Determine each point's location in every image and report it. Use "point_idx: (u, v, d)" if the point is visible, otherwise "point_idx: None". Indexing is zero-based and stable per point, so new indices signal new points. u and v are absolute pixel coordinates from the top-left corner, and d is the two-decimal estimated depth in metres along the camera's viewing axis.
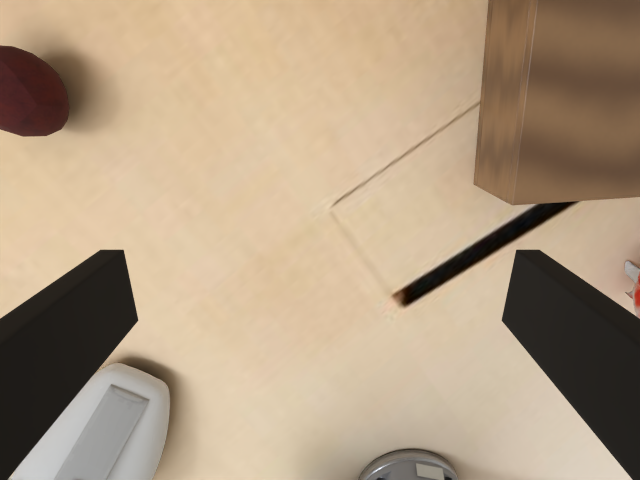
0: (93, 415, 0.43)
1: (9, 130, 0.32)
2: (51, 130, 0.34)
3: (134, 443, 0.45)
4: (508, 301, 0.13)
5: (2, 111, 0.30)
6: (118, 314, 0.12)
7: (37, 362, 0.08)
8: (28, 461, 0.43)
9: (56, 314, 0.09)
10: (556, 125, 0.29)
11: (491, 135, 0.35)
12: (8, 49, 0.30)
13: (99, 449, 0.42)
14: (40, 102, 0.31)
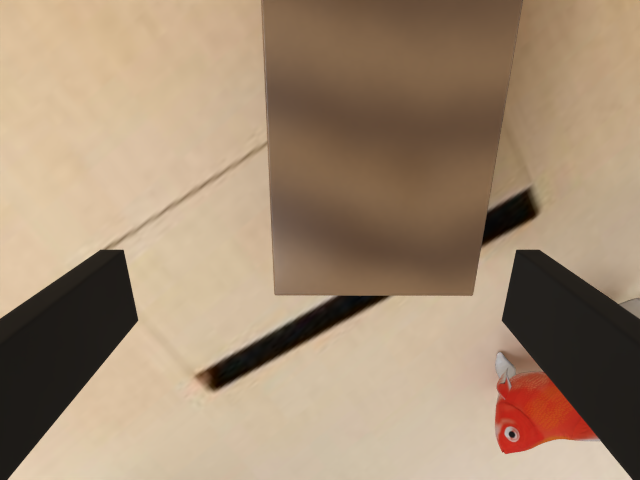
0: None
1: None
2: None
3: None
4: (508, 301, 0.13)
5: None
6: (118, 314, 0.12)
7: (37, 362, 0.08)
8: None
9: (56, 314, 0.09)
10: (323, 183, 0.19)
11: None
12: None
13: None
14: None
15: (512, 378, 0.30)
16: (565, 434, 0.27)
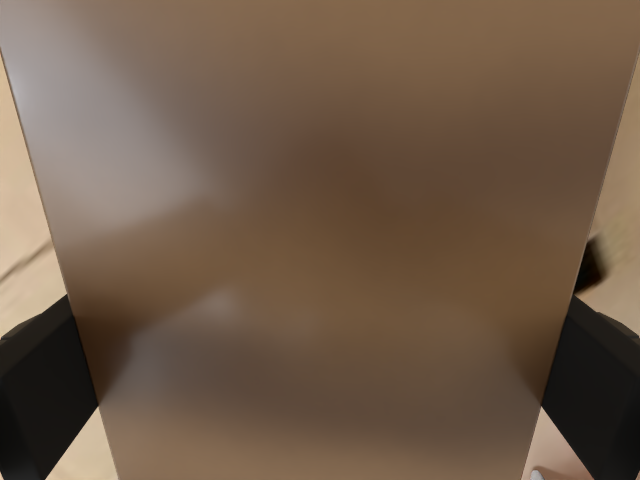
0: None
1: None
2: None
3: None
4: None
5: None
6: None
7: None
8: None
9: None
10: (188, 287, 0.08)
11: None
12: None
13: None
14: None
15: None
16: None
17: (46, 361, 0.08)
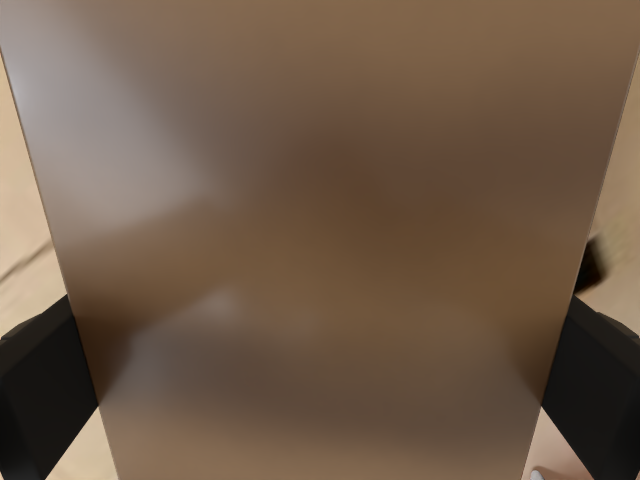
0: None
1: None
2: None
3: None
4: None
5: None
6: None
7: None
8: None
9: None
10: (188, 286, 0.08)
11: None
12: None
13: None
14: None
15: None
16: None
17: (46, 361, 0.08)
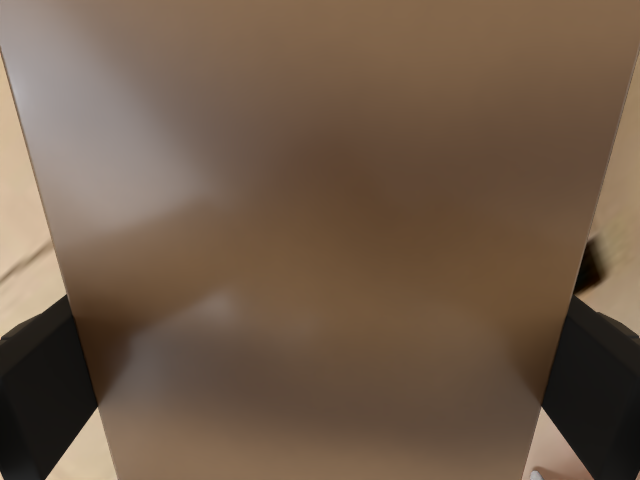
0: None
1: None
2: None
3: None
4: None
5: None
6: None
7: None
8: None
9: None
10: (188, 286, 0.08)
11: None
12: None
13: None
14: None
15: None
16: None
17: (46, 361, 0.08)
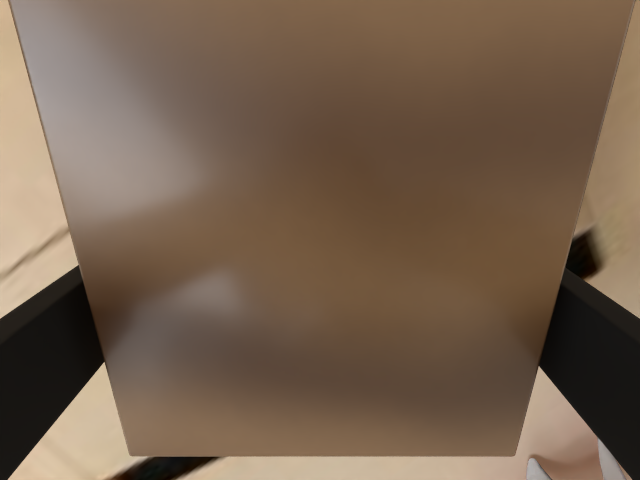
0: None
1: None
2: None
3: None
4: None
5: None
6: None
7: (37, 362, 0.08)
8: None
9: (56, 314, 0.09)
10: (195, 256, 0.08)
11: None
12: None
13: None
14: None
15: None
16: None
17: None
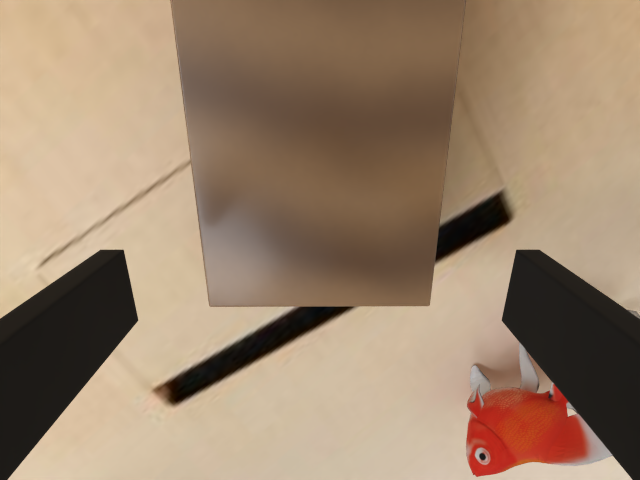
0: None
1: None
2: None
3: None
4: (508, 301, 0.13)
5: None
6: (118, 314, 0.12)
7: (37, 362, 0.08)
8: None
9: (56, 314, 0.09)
10: (254, 182, 0.16)
11: None
12: None
13: None
14: None
15: (485, 394, 0.28)
16: (539, 457, 0.25)
17: None
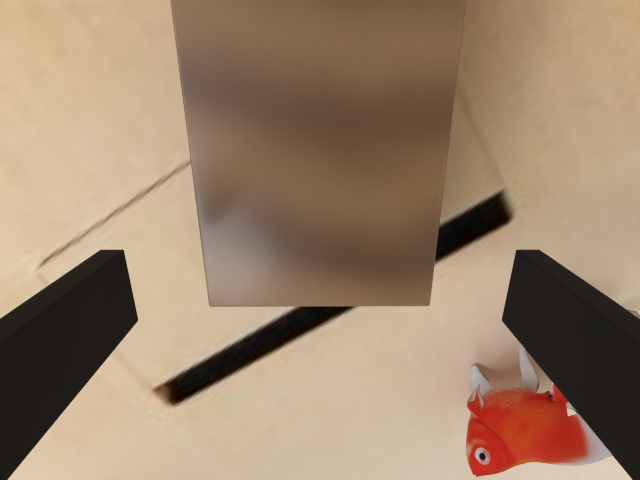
0: None
1: None
2: None
3: None
4: (508, 301, 0.13)
5: None
6: (118, 314, 0.12)
7: (37, 362, 0.08)
8: None
9: (56, 314, 0.09)
10: (254, 182, 0.17)
11: None
12: None
13: None
14: None
15: (485, 394, 0.28)
16: (539, 457, 0.25)
17: None
